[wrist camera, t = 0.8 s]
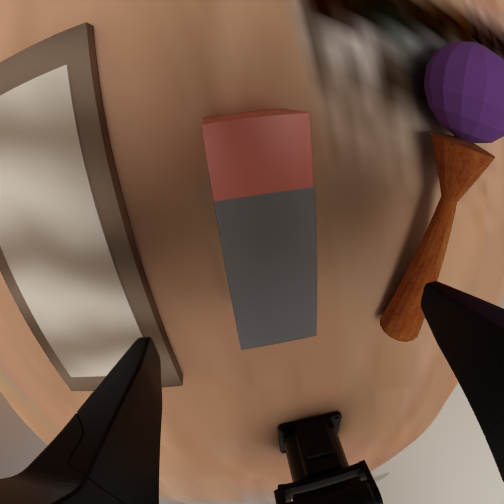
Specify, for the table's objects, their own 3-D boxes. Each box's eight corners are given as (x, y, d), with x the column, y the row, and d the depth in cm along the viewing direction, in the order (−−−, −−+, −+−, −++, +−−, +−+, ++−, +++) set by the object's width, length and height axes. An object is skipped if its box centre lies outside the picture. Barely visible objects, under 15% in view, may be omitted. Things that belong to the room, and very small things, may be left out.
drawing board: (182, 375, 22) (182, 387, 21) (74, 382, 22) (71, 392, 21) (93, 26, 11) (84, 21, 10) (-38, 92, 10) (-50, 94, 9)
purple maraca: (372, 355, 19) (463, 21, 8) (356, 298, 24) (412, 31, 13) (443, 353, 19) (542, 68, 8) (419, 302, 24) (485, 61, 13)
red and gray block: (295, 288, 20) (316, 335, 16) (234, 299, 20) (241, 349, 16) (282, 108, 15) (309, 112, 11) (203, 118, 14) (201, 125, 11)
